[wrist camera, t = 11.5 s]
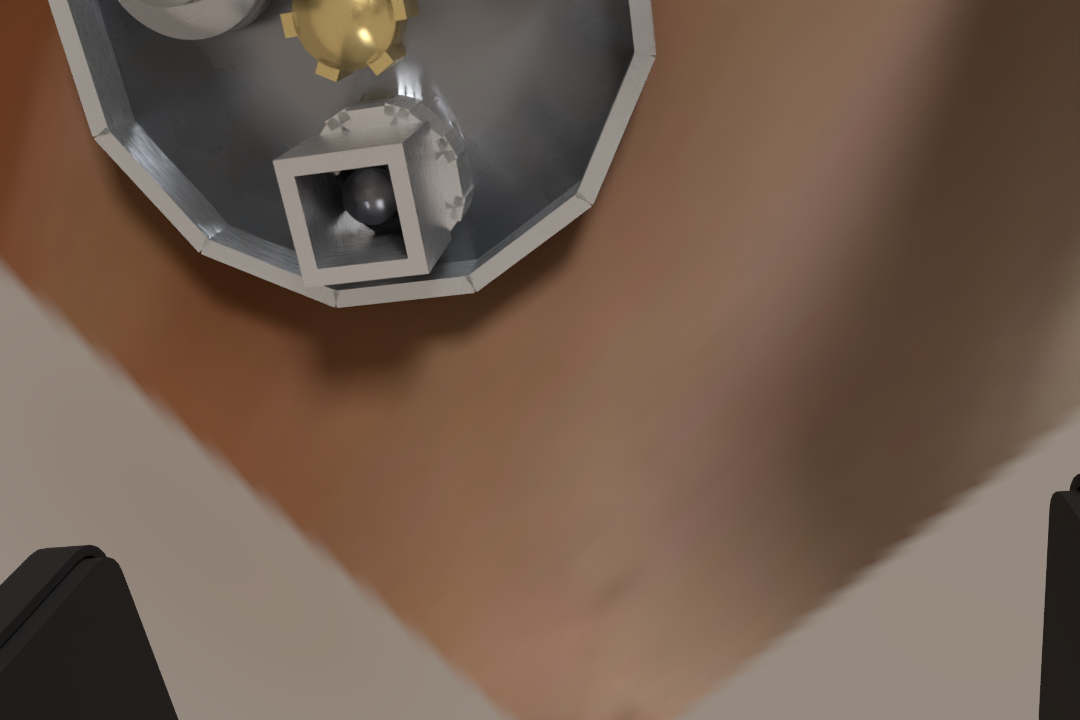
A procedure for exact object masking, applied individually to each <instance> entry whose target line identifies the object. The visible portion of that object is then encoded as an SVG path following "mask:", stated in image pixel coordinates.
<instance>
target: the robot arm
mask: <svg viewBox="0 0 1080 720" xmlns="http://www.w3.org/2000/svg"><path fill="white" fill-rule="evenodd" d="M0 720H178V717H177V715H176V712H175V709H174V707H173V704H172V702H171V699H170V696H169V694H168V691H167V688H166V686H165V683H164V680H163V678H162V675H161V672H160V670H159V667H158V664H157V662H156V659H155V657H154V654H153V651H152V649H151V646H150V644H149V641H148V638H147V636H146V633H145V630H144V628H143V625H142V622H141V619H140V617H139V614H138V612H137V609H136V606H135V604H134V601H133V598H132V596H131V593H130V590H129V588H128V585H127V583H126V580H125V577H124V574H123V572H122V570H121V568H120V566H119V564H118V563H117V562H116V561H115V560H114V559H112V558H109V557H106V555H105V553H104V552H103V551H102V550H100V548H98V547H96V546H93V545H84V546H69V547H56V548H45V549H40V550H37V551H36V552H34V553H33V554H31V555H30V556H29V557H28V558H27V559H26V560H25V561H24V562H23V563H22V564H21V565H20V566H19V567H18V568H17V569H16V570H15V571H14V572H13V573H12V574H11V575H10V576H9V577H8V578H7V579H6V580H5V581H4V582H3V583H2V584H1V585H0ZM1039 720H1080V474H1078V475H1076V476H1075V477H1074V478H1073V481H1072V483H1071V486H1070V491H1061V492H1060V491H1059V492H1055V493H1054V494H1053V496H1052V498H1051V502H1050V511H1049V531H1048V550H1047V569H1046V590H1045V608H1044V628H1043V647H1042V665H1041V685H1040V704H1039Z"/></svg>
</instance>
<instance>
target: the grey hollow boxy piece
mask: <svg viewBox="0 0 1080 720" xmlns="http://www.w3.org/2000/svg"><path fill="white" fill-rule="evenodd" d="M325 123H326V126H325V127H324V129H323V131H322V132H321V134H320V135H318V136H311V137H310V138H308V139H307V140H305V141H303V142H302V143H300V144H299V145H297V146H295V147H294V148H292V149H290V150H289V151H287V152H286V153H284V154H282V155H281V156H279V157H278V158H276V159H274V160H273V165H274V169H275V173H276V177H277V181H278V184H279V188H280V192H281V196H282V200H283V204H284V208H285V212H286V215H287V219H288V223H289V227H290V231H291V235H292V239H293V243H294V247H295V250H296V254H297V258H298V262H299V266H300V270H301V274H302V278H303V282H304V285H305V288H306V287H315V286H324V285H332V284H341V283H350V282H359V281H368V280H377V279H386V278H395V277H404V276H413V275H422V274H429V273H430V271H431V270H432V268H433V267H434V265H435V264H436V262H437V261H438V259H439V258H440V256H441V255H442V253H443V252H444V250H445V248H446V247H447V245H448V244H449V242H450V241H451V239H452V237H451V232H450V231H451V230H452V228H453V227H454V225H455V224H456V223H457V221H461V220H462V218H463V217H464V215H465V214H466V212H467V211H468V209H469V208H470V205H471V201H472V196H473V194H474V187H475V185H473V184H472V180H471V174H470V168H469V163H468V157H467V152H466V148H467V144H466V142H465V141H464V139H463V137H462V136H461V134H460V132H459V131H458V129H457V128H456V126H451V125H450V124H449V123H447V122H446V121H445V120H443V119H442V118H441V117H439V116H438V115H437V114H435V113H434V112H433V111H431V110H430V109H429V108H427V107H426V106H425V105H424V104H422V100H419V99H416V98H411V97H407V96H404V95H400V94H398V95H397V96H395V97H393V98H386V99H379V100H372V101H365V102H361V100H359V101H357V102H356V103H353V104H351V105H349V106H348V107H346V108H344V109H343V110H341V111H339V112H338V113H336V114H335V115H333V116H331V118H330V119H328V120H327V121H325ZM385 164H388V166H389V171H390V176H391V180H392V185H393V190H394V195H395V199H396V204H397V209H398V213H399V216H398V217H390V218H389V219H388V220H387V221H385V222H383V223H381V224H378V225H367V224H363V223H360V222H358V221H357V220H355V219H354V218H352V217H351V216H350V215H349V213H348V212H347V211H346V209H345V207H344V205H343V201H342V188H343V185H344V183H345V181H346V180H347V178H348V177H349V176H350V175H351V174H353V173H354V169H355V168H363V167H370V166H378V165H385Z"/></svg>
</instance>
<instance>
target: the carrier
mask: <svg viewBox="0 0 1080 720" xmlns="http://www.w3.org/2000/svg"><path fill="white" fill-rule="evenodd" d="M48 1H49V4H50V7H51V10H52V14H53V17H54V20H55V23H56V26H57V29H58V32H59V35H60V38H61V41H62V44H63V47H64V50H65V53H66V57H67V60H68V63H69V66H70V69H71V72H72V75H73V78H74V81H75V84H76V87H77V90H78V93H79V96H80V99H81V103H82V106H83V109H84V112H85V115H86V118H87V121H88V124H89V127H90V130H91V133H92V136H97V137H95V138H94V140H95V141H96V142H97V143H98V144H99V145H100V146H101V147H102V148H103V149H104V150H105V151H106V153H107V154H108V155H109V156H110V157H111V158H112V159H113V160H114V161H115V162H116V163H117V164H118V166H119V167H120V168H121V169H122V170H123V171H124V172H125V173H126V174H127V175H128V176H129V177H130V179H131V180H132V181H133V182H134V183H135V184H136V185H137V186H138V187H139V188H140V189H141V190H142V192H143V193H144V194H145V195H146V196H147V197H148V198H149V199H150V200H151V201H152V202H153V203H154V205H155V206H156V207H157V208H158V209H159V210H160V211H161V212H162V213H163V214H164V215H165V216H166V218H167V219H168V220H169V221H170V222H171V223H172V224H173V225H174V226H175V227H176V228H177V229H178V231H179V232H180V233H181V234H182V235H183V236H184V237H185V238H186V239H187V240H188V241H189V242H190V244H191V245H192V246H193V247H194V248H195V249H196V250H197V251H198V252H200V251H202V252H201V254H202V255H205V256H207V257H210V258H212V259H215V260H217V261H220V262H222V263H225V264H227V265H230V266H232V267H234V268H237V269H239V270H242V271H244V272H247V273H249V274H252V275H254V276H257V277H259V278H262V279H264V280H267V281H269V282H272V283H274V284H277V285H279V286H282V287H284V288H287V289H289V290H292V291H294V292H297V293H299V294H302V295H304V296H307V297H309V298H312V299H314V300H317V301H319V302H322V303H324V304H327V305H329V306H332V307H334V308H335V307H336V306H337V308H341V307H351V306H360V305H369V304H378V303H387V302H396V301H405V300H414V299H424V298H433V297H442V296H451V295H460V294H469V293H475V291H476V292H478V291H479V290H480V289H482V288H483V287H484V286H486V285H487V284H488V283H490V282H491V281H492V280H494V279H495V278H496V277H498V276H499V275H500V274H502V273H503V272H504V271H506V270H507V269H509V268H510V267H511V266H513V265H514V264H515V263H517V262H518V261H519V260H521V259H522V258H523V257H525V256H526V255H527V254H529V253H530V252H531V251H533V250H534V249H535V248H537V247H538V246H539V245H541V244H542V243H543V242H545V241H546V240H547V239H549V238H550V237H552V236H553V235H554V234H556V233H557V232H558V231H560V230H561V229H562V228H564V227H565V226H566V225H568V224H569V223H570V222H572V221H573V220H574V219H576V218H577V217H578V216H580V215H581V214H582V213H584V212H585V211H586V210H588V209H589V208H590V207H592V204H594V202H595V199H596V197H597V195H598V192H599V190H600V188H601V185H602V183H603V181H604V178H605V176H606V173H607V171H608V169H609V166H610V164H611V162H612V159H613V157H614V155H615V152H616V150H617V147H618V145H619V143H620V140H621V138H622V136H623V133H624V131H625V129H626V126H627V124H628V121H629V119H630V117H631V114H632V112H633V110H634V107H635V105H636V103H637V100H638V98H639V95H640V93H641V91H642V88H643V86H644V84H645V81H646V79H647V77H648V74H649V72H650V69H651V67H652V65H653V62H654V60H655V57H656V41H655V31H654V21H653V12H652V2H651V0H48ZM398 94H400V95H404V96H407V97H411V98H416V99H419V100H422V104H424V105H425V106H426V107H427V108H429V109H430V110H431V111H433V112H434V113H435V114H437V115H438V116H439V117H441V118H442V119H443V120H445V121H446V122H447V123H449V124H450V125H451V126H456V128H457V129H458V131H459V132H460V134H461V136H462V137H463V139H464V141H465V142H466V144H467V148H466V152H467V157H468V163H469V168H470V174H471V180H472V184H473V185H475V187H474V194H473V196H472V201H471V205H470V208H469V209H468V211H467V212H466V214H465V215H464V217H463V218H462V220H461V221H457V223H456V224H455V225H454V227H453V228H452V230H451V231H450V232H451V237H452V239H451V241H450V242H449V244H448V245H447V247H446V248H445V250H444V252H443V253H442V255H441V256H440V258H439V259H438V261H437V262H436V264H435V265H434V267H433V268H432V270H431V271H430V273H429V274H422V275H413V276H404V277H395V278H386V279H377V280H368V281H359V282H350V283H341V284H332V285H324V286H315V287H306V288H305V285H304V282H303V278H302V274H301V270H300V266H299V262H298V258H297V254H296V250H295V247H294V243H293V239H292V235H291V231H290V227H289V223H288V219H287V215H286V212H285V208H284V204H283V200H282V196H281V192H280V188H279V184H278V181H277V177H276V173H275V169H274V165H273V160H274V159H276V158H278V157H279V156H281V155H282V154H284V153H286V152H287V151H289V150H290V149H292V148H294V147H295V146H297V145H299V144H300V143H302V142H303V141H305V140H307V139H308V138H310V137H311V136H318V135H320V134H321V132H322V131H323V129H324V127H325V126H326V123H325V121H327V120H328V119H330V118H331V116H333V115H335V114H336V113H338V112H339V111H341V110H343V109H344V108H346V107H348V106H349V105H351V104H353V103H356V102H357V101H359V100H361V102H365V101H372V100H379V99H386V98H393V97H395V96H397V95H398ZM342 201H343V205H344V207H345V209H346V211H347V212H348V213H349V215H350V216H351V217H352V218H354V219H355V220H357V221H358V222H360V223H363V224H367V225H378V224H381V223H383V222H385V221H387V220H388V219H389V218H390V217H398V216H399V213H398V209H397V204H396V199H395V195H394V190H393V185H392V180H391V176H390V171H389V166H388V164H385V165H378V166H370V167H363V168H355V169H354V173H353V174H351V175H350V176H349V177H348V178H347V180H346V181H345V183H344V185H343V188H342Z"/></svg>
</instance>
